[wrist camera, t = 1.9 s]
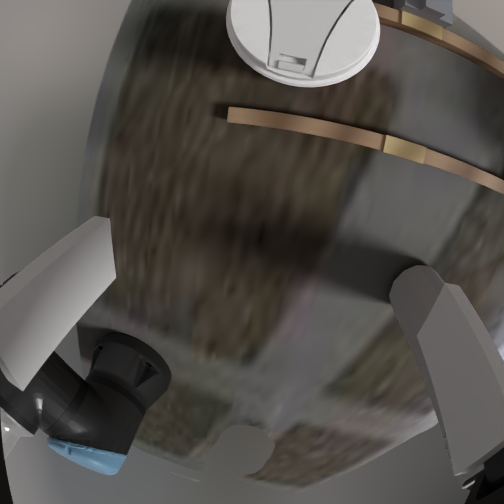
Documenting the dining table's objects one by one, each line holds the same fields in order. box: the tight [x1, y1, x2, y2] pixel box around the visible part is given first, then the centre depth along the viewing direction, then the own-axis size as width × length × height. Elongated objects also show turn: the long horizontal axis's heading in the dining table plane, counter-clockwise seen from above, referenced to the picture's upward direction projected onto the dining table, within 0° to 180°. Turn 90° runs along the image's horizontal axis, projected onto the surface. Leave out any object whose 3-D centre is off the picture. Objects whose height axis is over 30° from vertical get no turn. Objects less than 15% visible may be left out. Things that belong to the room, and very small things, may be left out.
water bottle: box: [389, 265, 484, 489], centre depth 21 cm, size 9×8×25 cm
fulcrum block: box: [393, 0, 452, 29], centre depth 15 cm, size 5×4×6 cm
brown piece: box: [227, 2, 504, 194], centre depth 21 cm, size 36×15×2 cm, turn 83°
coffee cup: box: [226, 0, 380, 87], centre depth 17 cm, size 8×8×15 cm
